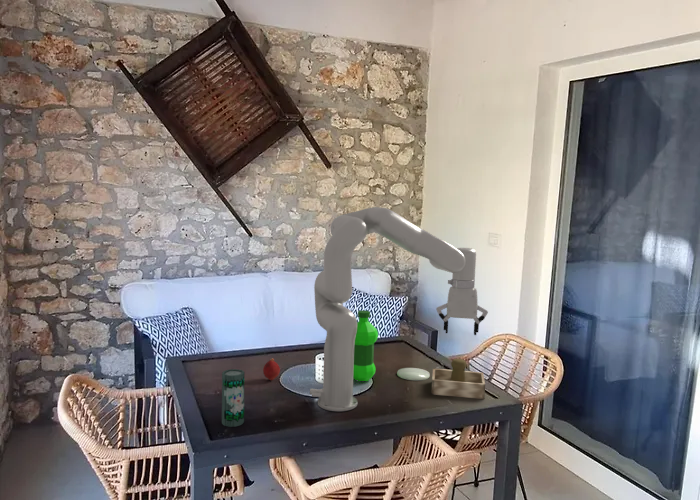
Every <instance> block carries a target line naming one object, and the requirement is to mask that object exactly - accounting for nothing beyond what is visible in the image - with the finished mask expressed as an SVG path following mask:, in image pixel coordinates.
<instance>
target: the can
mask: <svg viewBox="0 0 700 500" xmlns="http://www.w3.org/2000/svg"><path fill="white" fill-rule="evenodd" d="M244 423H245V370H243V369H236V368H235V369H233V368H231V369H225V370H223V371H222V372H221V424H222V425H223V426H224V427H225V426H226V427H229V428H232V427H234V428H235V427H240V426H241V425H243V424H244Z"/></svg>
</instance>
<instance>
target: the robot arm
mask: <svg viewBox="0 0 700 500" xmlns="http://www.w3.org/2000/svg"><path fill="white" fill-rule="evenodd" d="M329 229H330V234H331V236H330V238H329V239H328V241H327V243H326V245H325V247H324V251H323V253H324V254H323V269H322V270H321V271H320V272H319V273H318V274H317V276H316V278H315V280H314V285H313V286H314V287H313V288H314V290H313V291H314V305H315V306H314V307H315V317H316V321H317V324H318V325H319V326H320V327H321V328H322V329H323V330H324V331H326V337H325V341H324V346H323V374H322V375H323V376H322V377H323V378H322V382H323V383H322V388H319V389H317V388H310V389H309V395H311V397H312V398H318V399H317V405H318V406H319V407H320V408H322V409H323V410H326V411H330V412H347V411H348V412H349V411H351V410H354V409H355V408H357V406H358V399H357V398H356V397H355V396H353V395H354V393H353V392H354V378H353V371H354V345H355V337H356V333H357V322H358V320H357V317H356V315H355V313H353V312H352V310H350V309H349V308H347V307H346V306H344V303H346V302H348V301H350V298H351V296H352V294H353V278H352V256H353V252H354V251H355V249H356V248H357V247H358V246H359V245H360V244H361V243H362V242H363V241H364V240H365V239H366V237H367V235H369V234H377V235H380V236H382V237H383V238H385V239H386V240H389V241H390V242H392V243H394V244H395V245H396V246H398V247H400V248H401V249H403V250H405V251H407V252H409V253H411V254H414V255H417V256H420V257H422V258H425V259H427V260H429V263H430V264H431V266H432V267H434V268H435V269H437V270H441V271H445V272H449V273H452V278H450V279H449V280H448V279H447V284H448V285H451V286H450V287H449V289H448V292H447V301H446V303H444V304H442V305H439V306H437V307H436V308H435V309H436V312H437V314H438V316H439V317H440V318H441V320H442V321H443V331H445V334H448V331H449V319H451V318H452V319H453V318H456V319H466V320H467V319H470V320H471V319H472V320H473V321H474V324H473V335H474V336H477V333H479V327H480V326H479V325H480V323H481V322H482V321H484V320H485V318H486V317H487V315H488V313H489V311H488V310H487V309H485V308H484V307H481V306H480V305H478V291H477V288H476V287H475V285H476V284H475V281H476V266H477V265H476V264H477V263H476V262H477V261H476V260H477V252H476V250H475V248H472V247H471V248H470V247H455V246H453V245H452V244H450V243H448V242H446V241H445V240H443V239H441V238H439V237H437V236H435V235H433V234H431V233H430V232H428V231H426V230H424V229H422V228H421V227H419V226H417V225H416V224H414V223H412V222H411V221H409V220H408V219H406V218H405V217H403V216H401V215H400V214H398V213H397V212H395V211H394V210H391V209H390V208H387V207H379V206H374V207H368V208H364V209H361V210H356V211H352V212H349V213H344V214H341V215H338V216H337V217H335V218H334V219H333V220H332V221H331V223H330V228H329ZM445 309H446V314H444V313H443V312H442V310H445ZM478 311H479V312H480V313H482V314H481V315H480V316H478Z"/></svg>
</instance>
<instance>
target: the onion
mask: <svg viewBox="0 0 700 500" xmlns="http://www.w3.org/2000/svg"><path fill="white" fill-rule="evenodd" d="M262 371H263V375H264V377H265V378H266V379H267V380H270V381H274V380H275V379H276V378H277V377H279V375H280V373H281V367H280V365H279V364H278V362H276V361H275V358H270V360H268V361H267V362H266V363H265V364H264V365H263V370H262Z"/></svg>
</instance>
